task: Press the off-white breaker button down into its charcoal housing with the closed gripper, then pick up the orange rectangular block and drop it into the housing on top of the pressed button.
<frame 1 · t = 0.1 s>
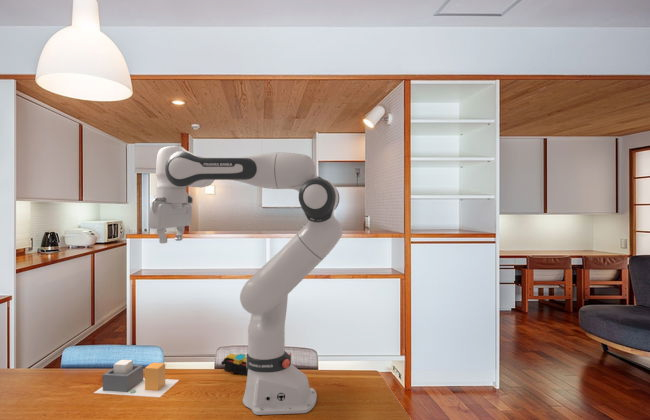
hand: (171, 241, 124), 48 cm above the table, fingers open, 8 cm apart
orange rectangular block: (155, 387, 126), point 1 cm above the table, touching breaker panel
breaker button: (123, 367, 127), point 7 cm above the table, slide at 0.0 cm
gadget: (242, 372, 140), on the table
breaker panel: (137, 389, 127), on the table
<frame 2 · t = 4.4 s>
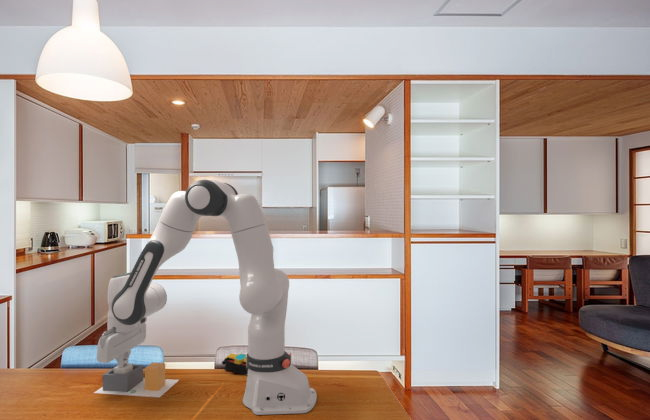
hand: (122, 365, 127), 7 cm above the table, fingers closed, pressing on breaker button
breaker button: (123, 371, 127), point 6 cm above the table, slide at 1.2 cm, touching gripper
everything else where it was.
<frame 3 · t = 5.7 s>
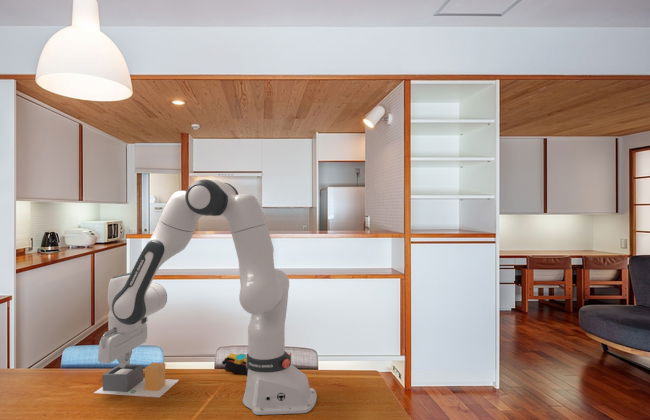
hand: (124, 366, 127), 7 cm above the table, fingers closed
breaker button: (123, 376, 127), point 4 cm above the table, slide at 3.0 cm
everything else where it was.
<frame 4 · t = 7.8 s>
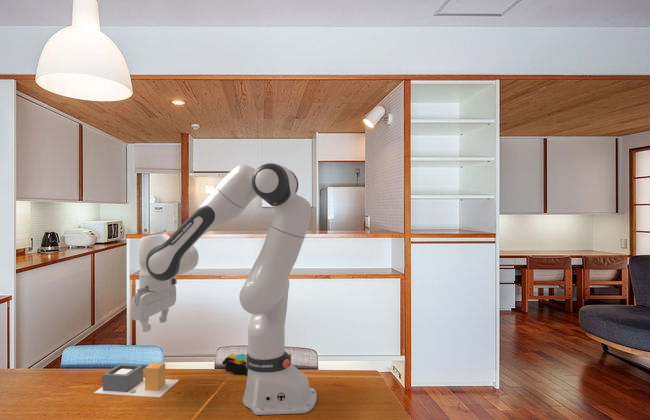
hand: (155, 326, 126), 21 cm above the table, fingers open, 8 cm apart
nothing on the table moved.
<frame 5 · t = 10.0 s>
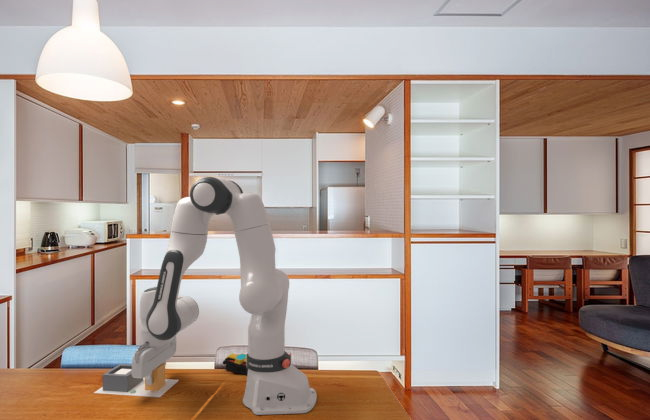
hand: (155, 380, 126), 3 cm above the table, fingers closed on orange rectangular block, 4 cm apart
orange rectangular block: (155, 387, 126), point 1 cm above the table, touching breaker panel, gripper
everything else where it was.
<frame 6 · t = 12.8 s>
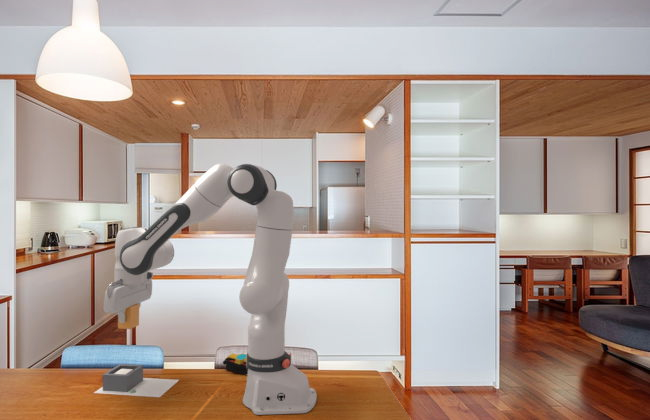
hand: (128, 319, 127), 22 cm above the table, fingers closed on orange rectangular block, 4 cm apart
orange rectangular block: (128, 326, 127), point 20 cm above the table, touching gripper
everything else where it was.
when the fingers open (10 cm above the table, at t = 15.9 s): orange rectangular block drops 2 cm, resting on breaker button.
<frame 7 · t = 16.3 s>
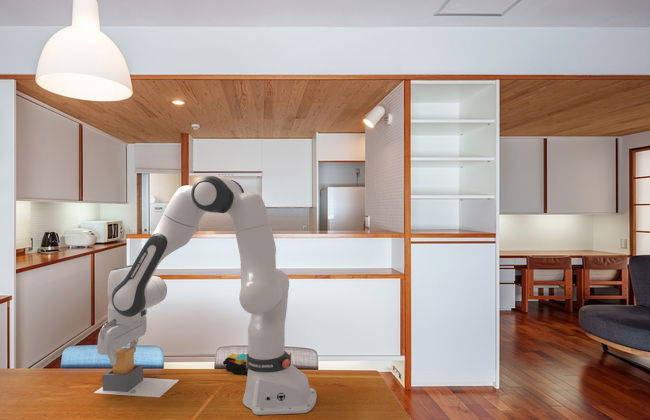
hand: (123, 358, 127), 10 cm above the table, fingers open, 8 cm apart
orange rectangular block: (123, 371, 127), point 5 cm above the table, touching breaker button
breaker button: (123, 377, 127), point 4 cm above the table, slide at 3.1 cm, touching orange rectangular block
everything else where it was.
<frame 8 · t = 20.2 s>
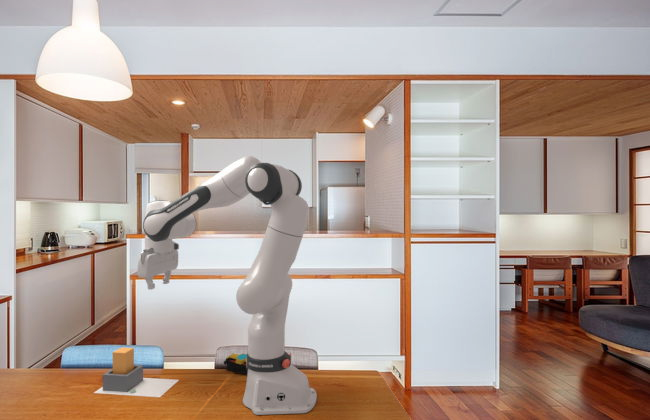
hand: (158, 286, 137), 31 cm above the table, fingers open, 8 cm apart
nothing on the table moved.
at the end: breaker button slide at 3.1 cm; orange rectangular block 0.0 cm from the target spot on the breaker panel, point 5.4 cm above the breaker panel's base; orange rectangular block tilted 0° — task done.
